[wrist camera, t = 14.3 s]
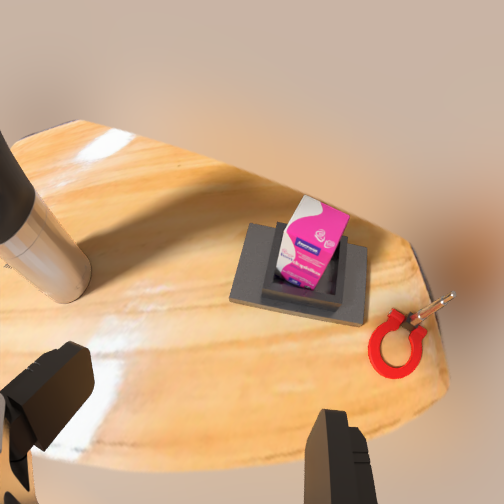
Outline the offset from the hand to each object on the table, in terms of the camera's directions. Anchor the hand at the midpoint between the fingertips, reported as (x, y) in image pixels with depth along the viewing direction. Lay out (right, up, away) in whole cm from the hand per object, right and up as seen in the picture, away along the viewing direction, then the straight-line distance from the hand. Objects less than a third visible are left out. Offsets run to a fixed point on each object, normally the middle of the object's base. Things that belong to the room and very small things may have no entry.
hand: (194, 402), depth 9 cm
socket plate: (+9, +2, +33) cm, 35 cm away
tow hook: (+22, -9, +29) cm, 37 cm away
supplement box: (+9, +2, +32) cm, 34 cm away
